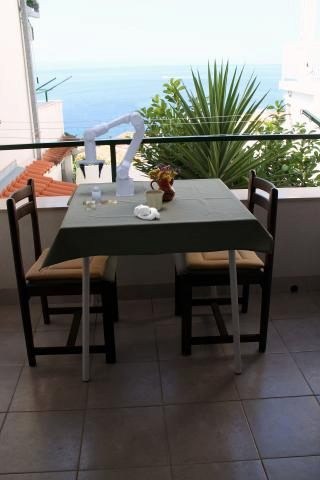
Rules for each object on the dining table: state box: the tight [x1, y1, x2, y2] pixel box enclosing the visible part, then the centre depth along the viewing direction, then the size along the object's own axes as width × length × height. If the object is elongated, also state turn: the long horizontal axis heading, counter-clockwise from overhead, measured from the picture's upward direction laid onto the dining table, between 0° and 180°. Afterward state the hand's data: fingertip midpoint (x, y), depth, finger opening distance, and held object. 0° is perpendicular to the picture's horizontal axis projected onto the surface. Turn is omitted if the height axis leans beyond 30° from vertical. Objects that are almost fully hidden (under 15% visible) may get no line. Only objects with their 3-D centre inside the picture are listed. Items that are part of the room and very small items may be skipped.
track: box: [82, 198, 118, 206], centre depth 253 cm, size 17×6×2 cm, turn 96°
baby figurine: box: [133, 203, 161, 221], centre depth 227 cm, size 9×12×8 cm
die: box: [85, 200, 96, 211], centre depth 242 cm, size 4×4×4 cm
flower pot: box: [144, 189, 165, 212], centre depth 239 cm, size 9×9×9 cm
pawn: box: [91, 186, 102, 205], centre depth 251 cm, size 4×4×8 cm
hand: (92, 177), depth 263 cm, fingers open, 7 cm apart
